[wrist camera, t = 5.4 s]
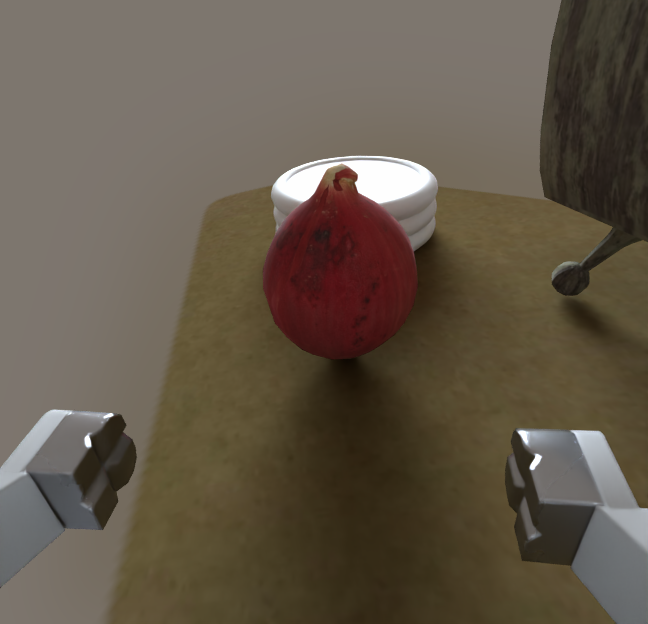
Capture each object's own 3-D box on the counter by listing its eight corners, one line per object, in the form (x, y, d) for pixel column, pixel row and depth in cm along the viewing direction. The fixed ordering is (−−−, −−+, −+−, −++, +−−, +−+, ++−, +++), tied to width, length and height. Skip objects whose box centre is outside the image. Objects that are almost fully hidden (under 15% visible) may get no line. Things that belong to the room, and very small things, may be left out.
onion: (386, 421, 17) (388, 208, 13) (249, 382, 19) (211, 189, 15) (428, 331, 21) (441, 148, 17) (313, 307, 24) (298, 140, 19)
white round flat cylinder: (399, 283, 25) (401, 220, 23) (245, 251, 29) (235, 196, 27) (454, 213, 32) (459, 160, 30) (324, 195, 36) (320, 148, 34)
